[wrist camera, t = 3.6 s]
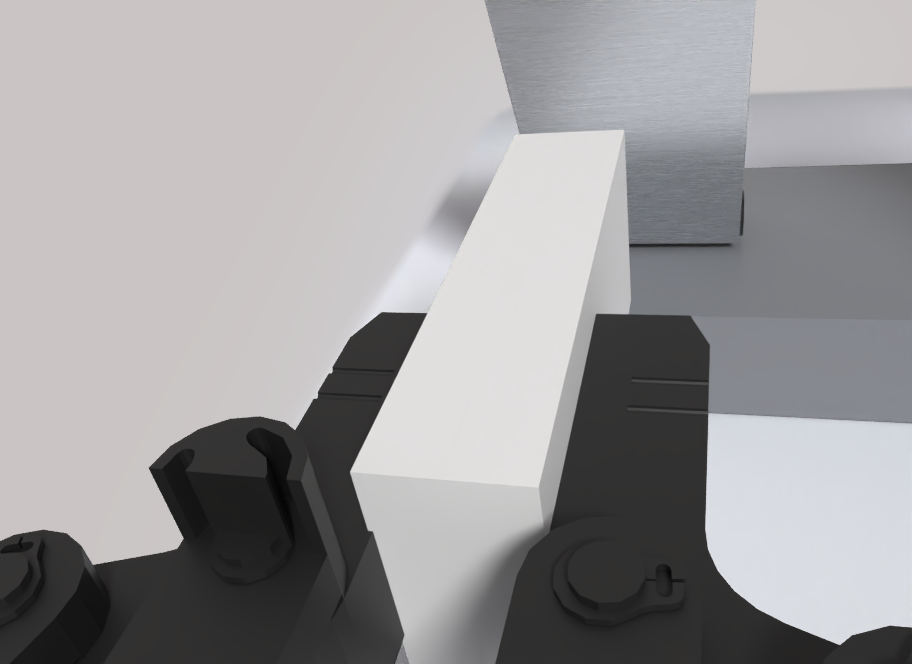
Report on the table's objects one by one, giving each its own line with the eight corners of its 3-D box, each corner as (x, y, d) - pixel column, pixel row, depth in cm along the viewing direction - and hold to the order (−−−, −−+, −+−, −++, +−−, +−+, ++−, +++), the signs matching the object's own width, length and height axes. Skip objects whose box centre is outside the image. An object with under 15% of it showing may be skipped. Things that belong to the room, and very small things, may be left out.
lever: (741, 254, 22) (775, -183, 12) (547, 254, 24) (443, -135, 14) (742, 199, 23) (774, -250, 13) (554, 203, 24) (460, -197, 15)
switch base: (1517, 453, 17) (1617, 324, 15) (470, 400, 23) (452, 305, 22) (1306, 251, 23) (1360, 142, 21) (524, 253, 29) (514, 169, 28)
